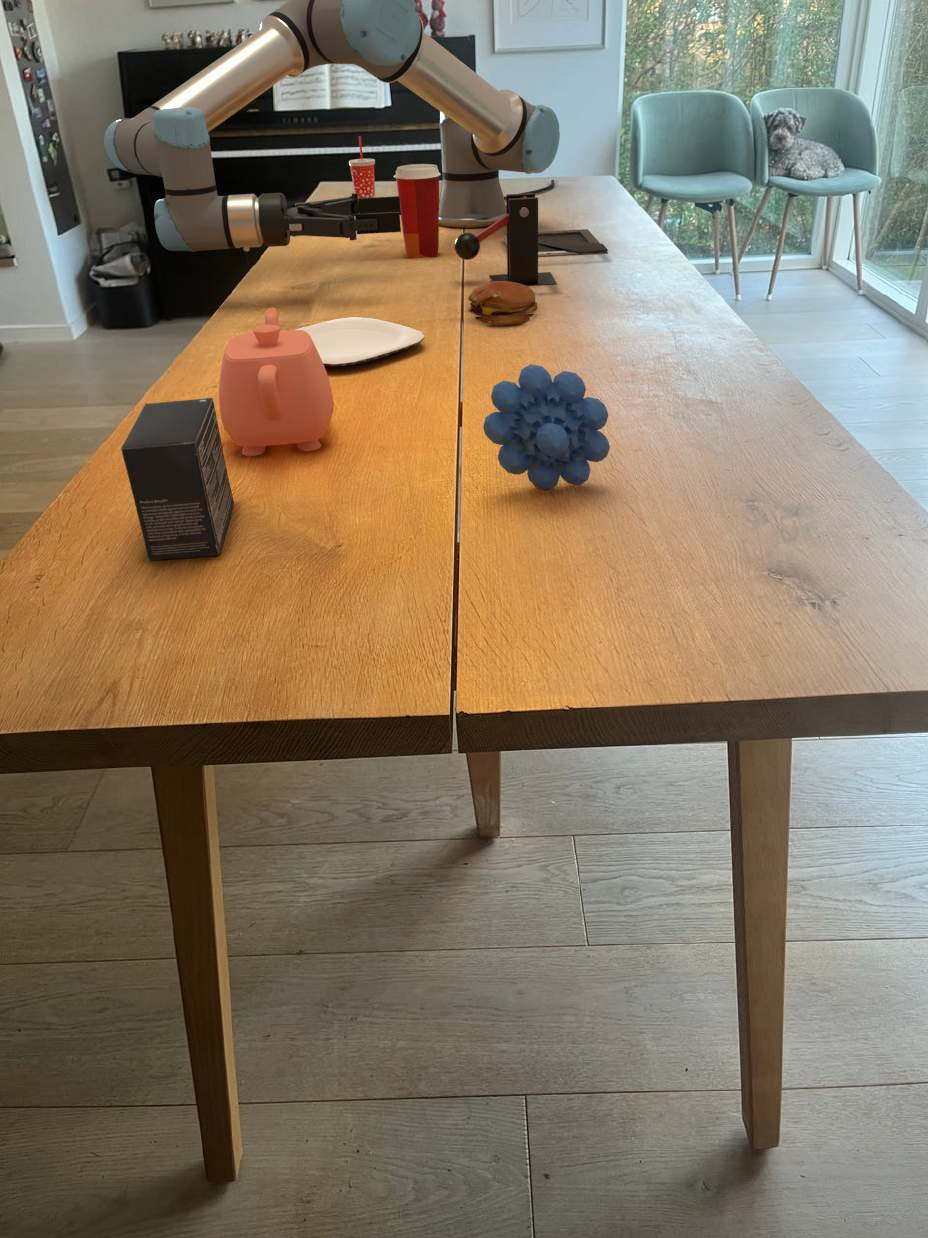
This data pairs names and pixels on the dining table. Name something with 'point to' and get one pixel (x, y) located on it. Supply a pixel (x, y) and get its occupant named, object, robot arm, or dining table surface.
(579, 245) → the picture frame
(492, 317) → the burger
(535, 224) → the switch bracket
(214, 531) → the small box
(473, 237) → the switch lever
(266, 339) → the teapot
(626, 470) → the dining table surface
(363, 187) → the beverage cup
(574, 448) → the blue beaded flower
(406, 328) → the plate
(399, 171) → the coffee cup
